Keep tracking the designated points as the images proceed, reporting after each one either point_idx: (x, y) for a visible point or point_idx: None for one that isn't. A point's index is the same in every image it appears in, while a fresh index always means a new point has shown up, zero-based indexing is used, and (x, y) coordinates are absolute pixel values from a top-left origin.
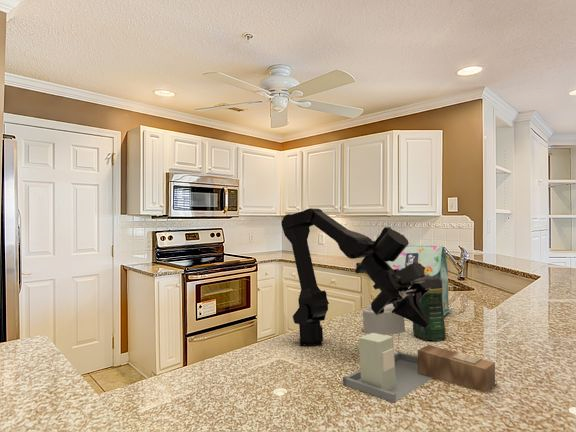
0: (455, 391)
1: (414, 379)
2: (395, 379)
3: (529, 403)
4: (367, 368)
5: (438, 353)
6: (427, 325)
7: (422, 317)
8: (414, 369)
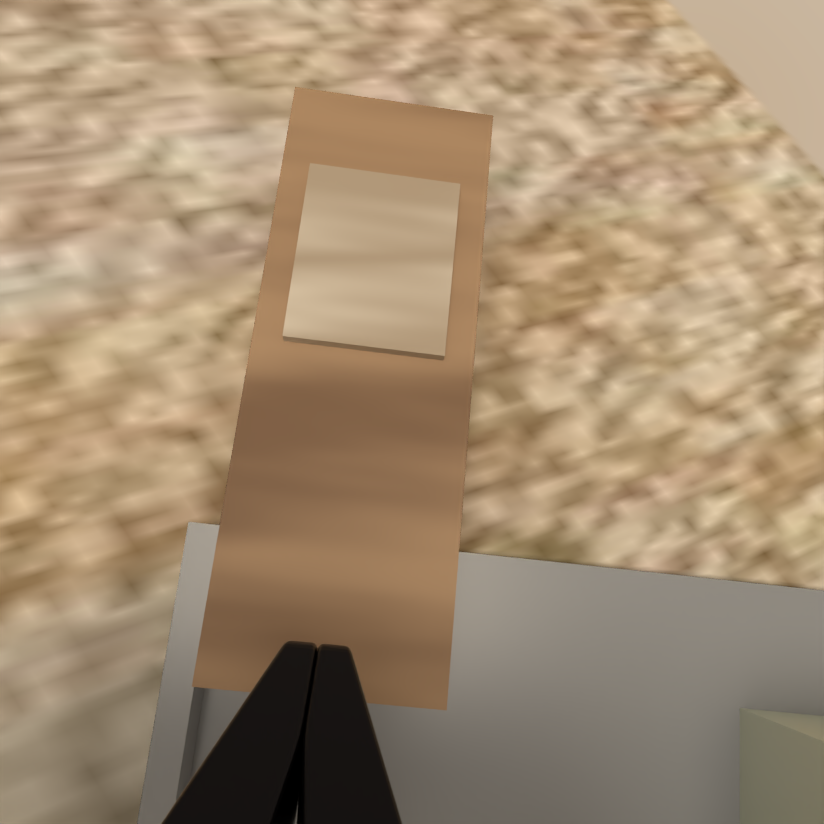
0: (511, 375)
1: (544, 651)
2: (771, 720)
3: (427, 35)
4: None
5: (398, 498)
6: (350, 653)
7: (364, 777)
8: None
